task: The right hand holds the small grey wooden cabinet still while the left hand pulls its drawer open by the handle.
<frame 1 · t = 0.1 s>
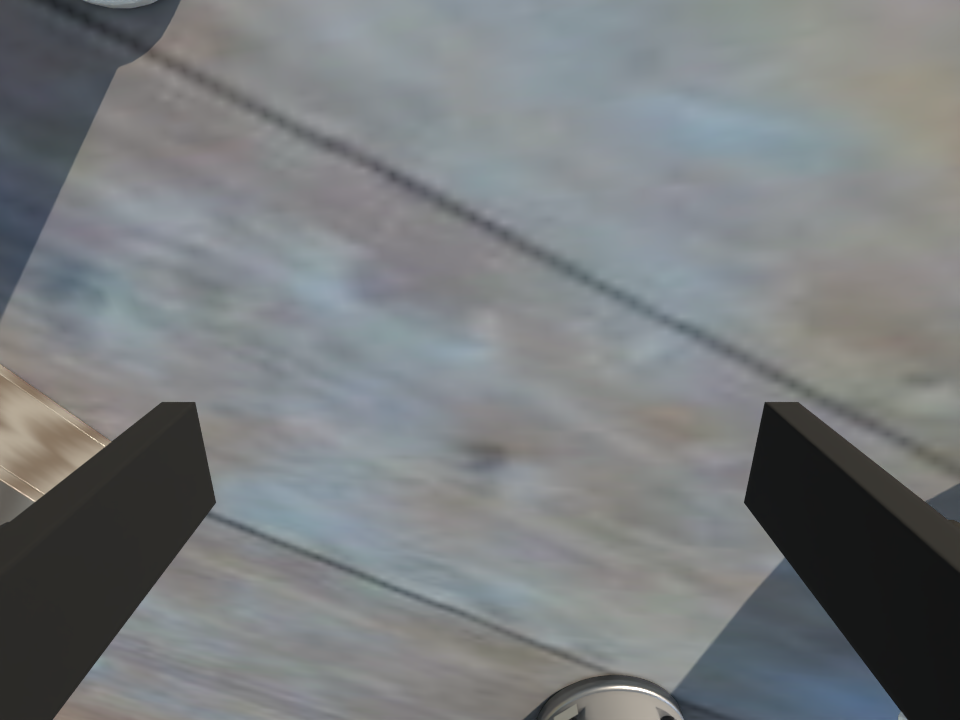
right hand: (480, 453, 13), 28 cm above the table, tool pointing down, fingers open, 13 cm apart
cabinet: (56, 469, 45), on the table
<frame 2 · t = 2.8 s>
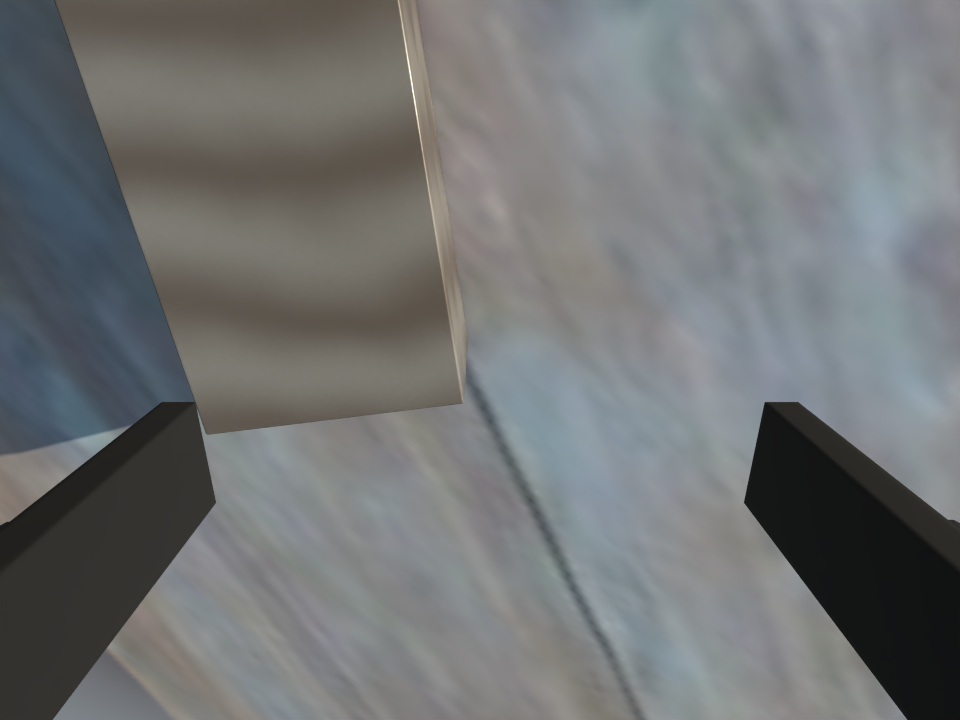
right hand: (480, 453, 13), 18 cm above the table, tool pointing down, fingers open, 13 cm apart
cabinet: (327, 161, 27), on the table
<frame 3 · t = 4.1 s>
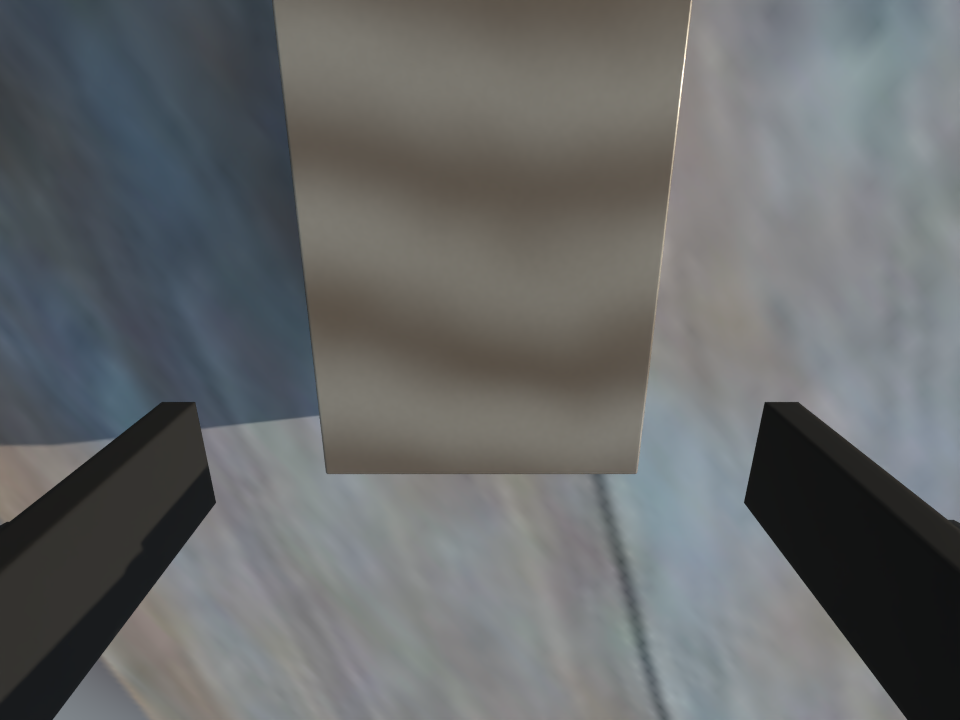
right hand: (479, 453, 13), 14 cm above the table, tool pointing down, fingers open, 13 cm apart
cabinet: (481, 165, 24), on the table
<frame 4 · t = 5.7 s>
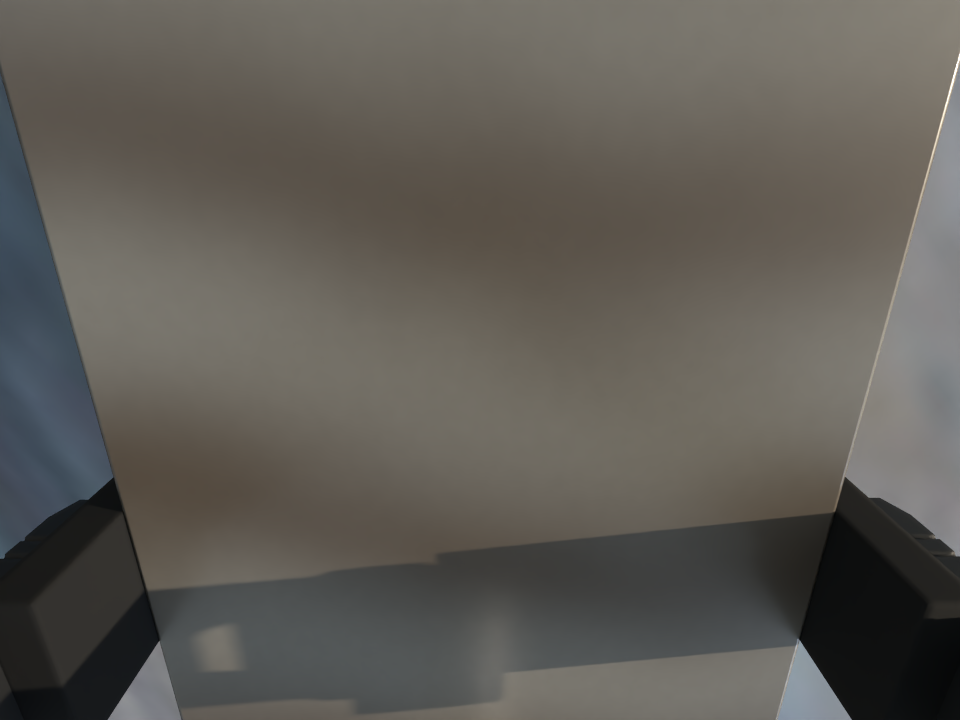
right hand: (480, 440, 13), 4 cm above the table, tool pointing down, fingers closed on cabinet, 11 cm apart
cabinet: (479, 163, 14), on the table, touching right hand
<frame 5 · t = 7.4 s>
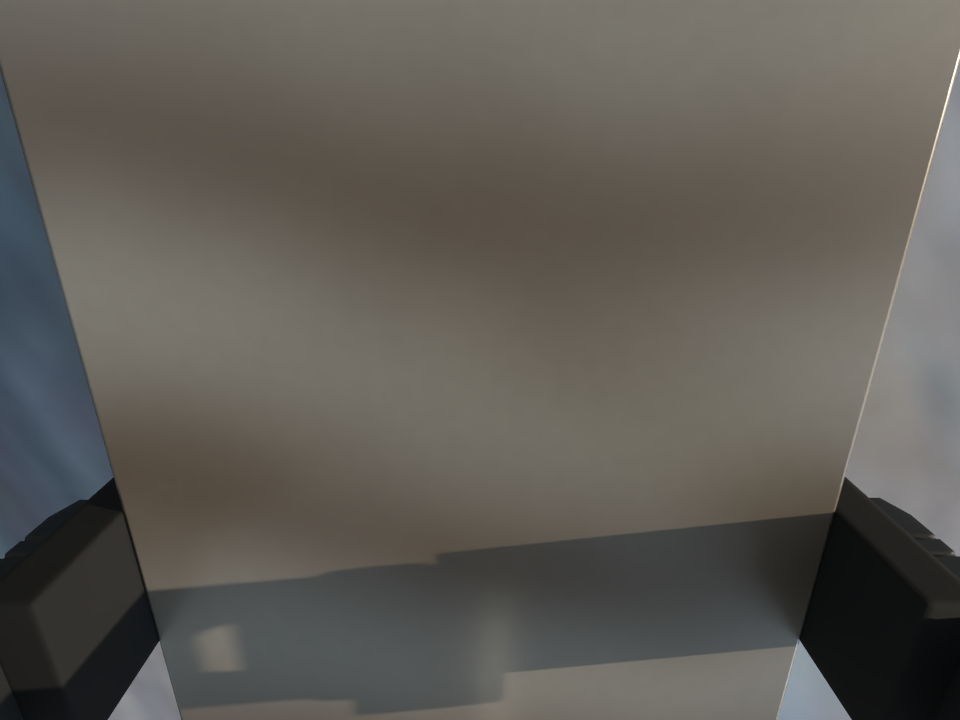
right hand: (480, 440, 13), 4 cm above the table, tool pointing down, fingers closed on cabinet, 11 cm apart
cabinet: (479, 163, 14), on the table, touching right hand
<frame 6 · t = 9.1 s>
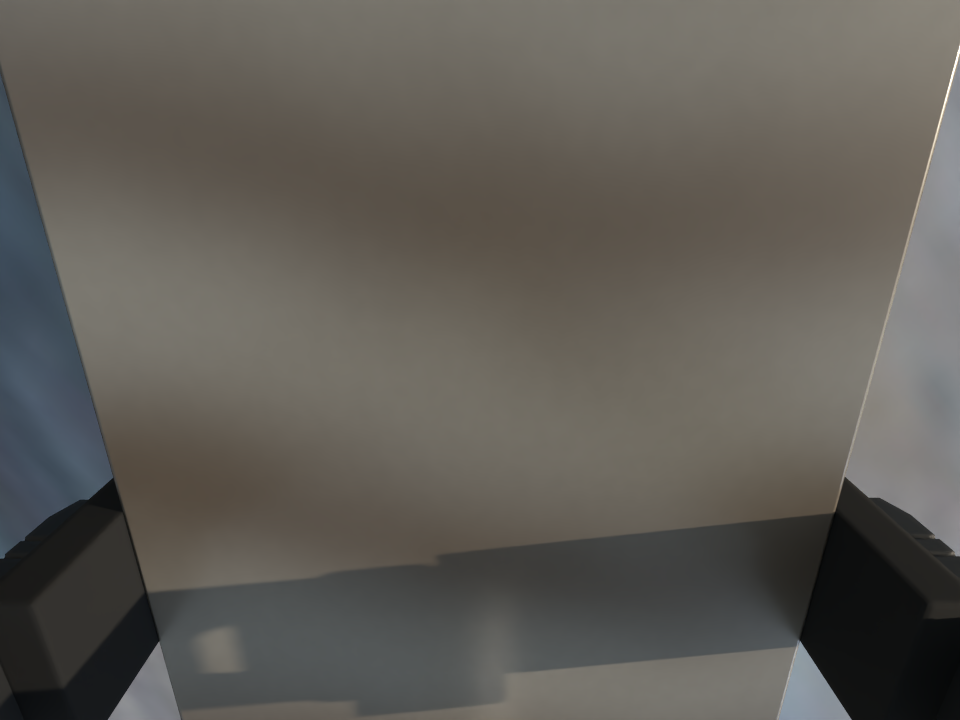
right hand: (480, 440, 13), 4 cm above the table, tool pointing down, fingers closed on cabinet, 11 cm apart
cabinet: (478, 163, 14), on the table, touching right hand
when the right hand's fingers open (4 cm above the table, at t = 10.8 s): cabinet stays where it is, on the table.
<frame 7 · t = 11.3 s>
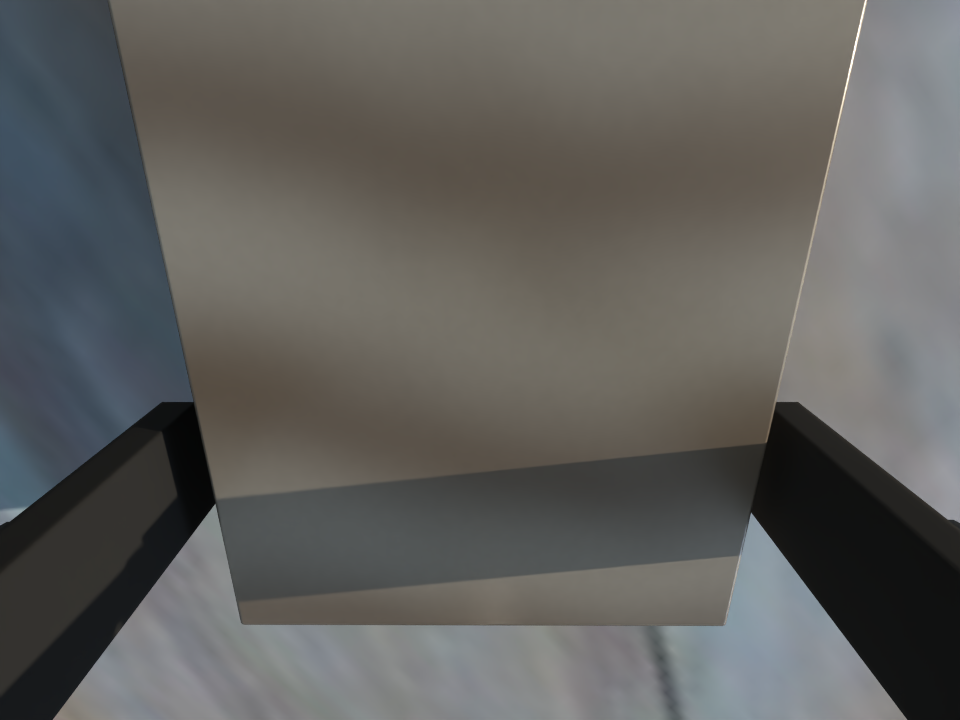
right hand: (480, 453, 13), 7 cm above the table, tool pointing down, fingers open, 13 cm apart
cabinet: (483, 143, 16), on the table
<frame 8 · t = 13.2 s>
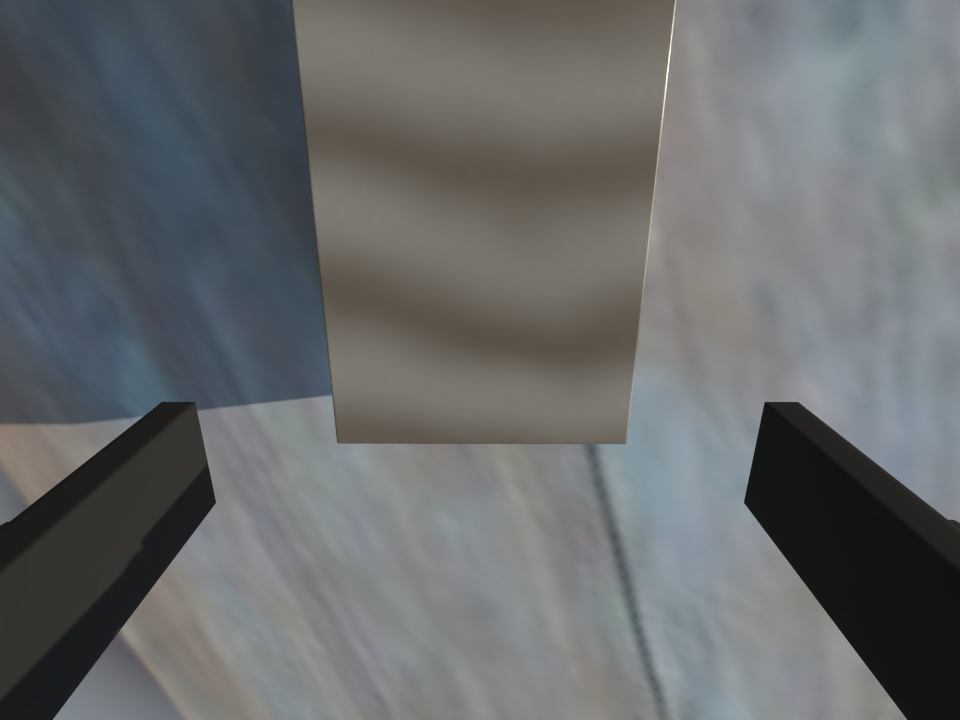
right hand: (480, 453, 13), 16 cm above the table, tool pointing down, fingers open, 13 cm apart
cabinet: (482, 156, 25), on the table
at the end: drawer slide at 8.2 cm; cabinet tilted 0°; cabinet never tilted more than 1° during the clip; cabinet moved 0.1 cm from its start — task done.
